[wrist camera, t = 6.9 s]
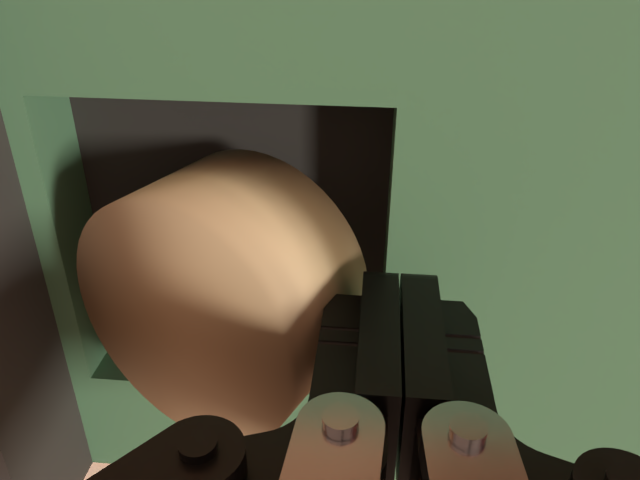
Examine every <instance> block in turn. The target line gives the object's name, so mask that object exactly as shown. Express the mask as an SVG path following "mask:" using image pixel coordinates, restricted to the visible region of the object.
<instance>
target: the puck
mask: <svg viewBox="0 0 640 480" xmlns="http://www.w3.org/2000/svg"><path fill="white" fill-rule="evenodd" d="M363 271H367V270H366V265H365V261H364V258H363V255H362V252H361V248H360V246H359V244H358V242H357V239H356V237H355V235H354V233H353V231H352V229H351V227H350V226H349V224H348V222H347V220H346V219H345V217H344V216H343V214H342V213H341V212H340V210H339V209H338V207H337V206H336V205H335V203H334V202H333V201H332V200H331V199H330V198H329V197H328V195H327V194H326V193H325V192H324V191H323V190H322V189H321V188H320V187H319V186H318V185H317V184H316V183H314V182H313V181H312V180H311V179H310V178H309V177H307V176H306V175H305V174H303V173H302V172H300V171H299V170H298V169H296V168H294V167H293V166H291V165H289V164H287V163H286V162H284V161H282V160H280V159H277V158H275V157H273V156H270V155H268V154H264V153H260V152H257V151H251V150H243V149H234V150H224V151H220V152H216V153H213V154H211V155H208V156H206V157H204V158H202V159H200V160H198V161H196V162H194V163H192V164H190V165H188V166H186V167H184V168H182V169H179V170H177V171H175V172H173V173H171V174H169V175H167V176H165V177H163V178H161V179H159V180H157V181H155V182H153V183H151V184H149V185H147V186H145V187H143V188H141V189H139V190H137V191H135V192H132V193H130V194H128V195H126V196H124V197H122V198H120V199H118V200H116V201H114V202H112V203H110V204H108V205H106V206H104V207H102V208H101V209H100V210H98V211H97V212H95V213H94V214H93V215H92V217H91V218H90V219H89V220H88V221H87V223H86V225H85V226H84V228H83V230H82V233H81V236H80V239H79V242H78V248H77V276H78V283H79V287H80V292H81V296H82V299H83V302H84V306H85V309H86V311H87V314H88V316H89V319H90V321H91V323H92V325H93V327H94V330H95V332H96V334H97V336H98V337H99V339H100V341H101V343H102V344H103V346H104V348H105V349H106V351H107V353H108V354H109V356H110V357H111V359H112V360H113V362H114V363H115V364H116V366H117V367H118V368H119V369H120V371H121V372H122V373H123V375H124V376H125V377H126V378H127V379H128V380H129V382H130V383H131V384H132V385H133V386H134V387H135V388H136V389H137V390H138V391H139V392H140V393H141V394H142V395H143V396H144V397H145V398H146V399H147V400H148V401H149V402H150V403H151V404H152V405H154V406H155V407H156V408H157V409H158V410H160V411H161V412H162V413H164V414H165V415H166V416H168V417H169V418H170V419H172V420H174V421H175V422H178V421H180V420H183V419H185V418H189V417H192V416H199V415H213V416H219V417H222V418H225V419H227V420H230V421H231V422H233V423H234V424H235V425H236V426H237V427H238V428H239V429H240V430H241V432H242V433H243V436H246V435H251V434H256V433H261V432H267V431H271V430H275V429H277V428H279V427H280V426H281V425H282V424H283V423H284V422H285V421H286V419H287V418H288V417H289V416H290V415H291V414H292V412H293V411H294V410H295V409H296V408H297V407H298V405H299V404H300V403H301V402H302V401H303V399H304V398H305V397H306V396H307V395H308V394H309V392H310V388H311V382H312V376H313V370H314V364H315V358H316V351H317V345H318V339H319V333H320V329H321V321H322V315H323V309H324V307H325V306H326V305H327V304H328V303H329V302H330V301H331V299H332V298H333V297H334V296H335V295H336V294H345V295H362V284H363Z"/></svg>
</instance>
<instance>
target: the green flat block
mask: <svg viewBox="0 0 640 480" xmlns="http://www.w3.org/2000/svg"><path fill="white" fill-rule="evenodd" d="M234 149H243V150H251V151H257V152H260V153H264V154H268V155H270V156H273V157H275V158H277V159H280V160H282V161H284V162H286V163H287V164H289V165H291V166H293V167H294V168H296V169H298V170H299V171H300V172H302V173H303V174H305V175H306V176H307V177H309V178H310V179H311V180H312V181H313V182H314V183H316V184H317V185H318V186H319V187H320V188H321V189H322V190H323V191H324V192H325V193H326V194H327V195H328V197H329V198H330V199H331V200H332V201H333V202H334V203H335V205H336V206H337V207H338V209H339V210H340V212H341V213H342V214H343V216H344V217H345V219H346V220H347V222H348V224H349V226H350V227H351V229H352V231H353V233H354V235H355V237H356V239H357V242H358V244H359V246H360V248H361V252H362V255H363V258H364V261H365V265H366V270H367V271H368V272H386V273H399V287H400V277H401V273H406V274H424V275H437V277H438V283H439V290H440V298H441V300H449V301H463V302H464V303H465V304H466V305H467V307H468V308H469V309H470V310H471V311H472V312H473V314H474V315H475V316H476V317H477V320H478V325H479V329H480V334H481V339H482V343H483V348H484V355H485V357H486V362H487V367H488V371H489V376H490V381H491V385H492V390H493V395H494V400H495V404H496V409H497V413H498V415H499V416H501V417H502V418H503V419H504V420H505V421H506V422H507V424H508V425H509V427H510V428H511V430H512V433H513V435H514V437H516V438H517V439H518V440H519V441H521V442H522V443H524V444H525V445H527V446H529V447H531V448H533V449H535V450H537V451H540V452H542V453H545V454H548V455H551V456H554V457H557V458H560V459H563V460H566V461H569V462H572V463H575V461H576V460H577V458H578V457H579V456H580V455H581V454H582V453H584V452H586V451H588V450H591V449H595V448H603V447H604V448H616V449H621V450H625V451H628V452H631V453H634V454H636V455H638V456H640V0H0V480H83V479H84V478H85V476H86V474H87V472H88V470H89V468H90V466H91V464H92V462H99V463H111V464H112V463H113V462H115V461H116V460H118V459H119V458H121V457H123V456H124V455H126V454H127V453H129V452H130V451H132V450H133V449H135V448H137V447H138V446H140V445H141V444H143V443H144V442H146V441H147V440H149V439H151V438H152V437H154V436H155V435H157V434H158V433H160V432H161V431H163V430H165V429H166V428H168V427H169V426H171V425H173V424H174V423H176V422H175V421H174V420H172V419H170V418H169V417H168V416H166V415H165V414H164V413H162V412H161V411H160V410H158V409H157V408H156V407H155V406H154V405H152V404H151V403H150V402H149V401H148V400H147V399H146V398H145V397H144V396H143V395H142V394H141V393H140V392H139V391H138V390H137V389H136V388H135V387H134V386H133V385H132V384H131V383H130V382H129V380H128V379H127V378H126V377H125V376H124V375H123V373H122V372H121V371H120V369H119V368H118V367H117V366H116V364H115V363H114V362H113V360H112V359H111V357H110V356H109V354H108V353H107V351H106V349H105V348H104V346H103V344H102V343H101V341H100V339H99V337H98V336H97V334H96V332H95V330H94V327H93V325H92V323H91V321H90V319H89V316H88V314H87V311H86V309H85V306H84V302H83V299H82V296H81V292H80V287H79V283H78V276H77V248H78V242H79V239H80V236H81V233H82V230H83V228H84V226H85V225H86V223H87V221H88V220H89V219H90V218H91V217H92V215H93V214H94V213H95V212H97V211H98V210H100V209H101V208H102V207H104V206H106V205H108V204H110V203H112V202H114V201H116V200H118V199H120V198H122V197H124V196H126V195H128V194H130V193H132V192H135V191H137V190H139V189H141V188H143V187H145V186H147V185H149V184H151V183H153V182H155V181H157V180H159V179H161V178H163V177H165V176H167V175H169V174H171V173H173V172H175V171H177V170H179V169H182V168H184V167H186V166H188V165H190V164H192V163H194V162H196V161H198V160H200V159H202V158H204V157H206V156H208V155H211V154H213V153H216V152H220V151H224V150H234ZM309 394H310V392H309ZM309 394H308V395H307V396H306V397H305V398H304V399H303V401H302V402H301V403H300V404H299V405H298V407H297V408H296V409H295V410H294V411H293V412H292V414H291V415H290V416H289V417H288V418H287V419H286V421H285V422H284V423H283V424H282V425H281V426H280V427H283V426H284V425H286V424H288V423H290V422H291V421H293V420H294V419H295V418H297V416H298V413H299V411H300V410H301V408H302V407H303V406H304V405H305V404H306V403H307V402H308V399H309ZM280 427H279V428H280ZM394 480H396V468H395V479H394Z"/></svg>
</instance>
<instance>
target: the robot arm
mask: <svg viewBox="0 0 640 480" xmlns="http://www.w3.org/2000/svg"><path fill="white" fill-rule="evenodd" d="M395 468H396V480H640V456H638V455H636V454H634V453H631V452H628V451H625V450H621V449H616V448H604V447H603V448H595V449H591V450H588V451H586V452H584V453H582V454H581V455H580V456H579V457H578V458H577V460H576V461H575V463H572V462H569V461H566V460H563V459H560V458H557V457H554V456H551V455H548V454H545V453H542V452H540V451H537V450H535V449H533V448H531V447H529V446H527V445H525V444H524V443H522V442H521V441H519V440H518V439H517V438H516V437H514V435H513V433H512V430H511V428H510V427H509V425H508V424H507V422H506V421H505V420H504V419H503V418H502V417H501V416H499V415H498V413H497V409H496V404H495V400H494V395H493V390H492V385H491V381H490V376H489V371H488V367H487V362H486V357H485V355H484V348H483V343H482V339H481V334H480V329H479V325H478V320H477V317H476V316H475V315H474V314H473V312H472V311H471V310H470V309H469V308H468V307H467V305H466V304H465V303H464V302H463V301H449V300H441V298H440V290H439V283H438V277H437V275H424V274H406V273H401V277H400V287H399V273H386V272H368V271H363V284H362V295H345V294H336V295H335V296H334V297H333V298H332V299H331V301H330V302H329V303H328V304H327V305H326V306H325V307H324V309H323V315H322V321H321V329H320V333H319V339H318V345H317V351H316V358H315V364H314V370H313V376H312V382H311V388H310V394H309V399H308V402H307V403H306V404H305V405H304V406H303V407H302V408H301V410H300V411H299V413H298V416H297V418H295V419H294V420H293V421H291V422H290V423H288V424H286V425H284V426H283V427H280V428H277V429H275V430H271V431H267V432H261V433H256V434H251V435H246V436H243V433H242V432H241V430H240V429H239V428H238V427H237V426H236V425H235V424H234V423H233V422H231V421H230V420H227V419H225V418H222V417H219V416H213V415H199V416H192V417H189V418H185V419H183V420H180V421H178V422H176V423H174V424H173V425H171V426H169V427H168V428H166V429H165V430H163V431H161V432H160V433H158V434H157V435H155V436H154V437H152V438H151V439H149V440H147V441H146V442H144V443H143V444H141V445H140V446H138V447H137V448H135V449H133V450H132V451H130V452H129V453H127V454H126V455H124V456H123V457H121V458H119V459H118V460H116V461H115V462H113V463H112V464H110V465H108V466H107V467H105V468H104V469H102V470H101V471H99V472H98V473H96V474H94V475H93V476H91V477H90V478H88V479H87V480H394V479H395Z"/></svg>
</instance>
